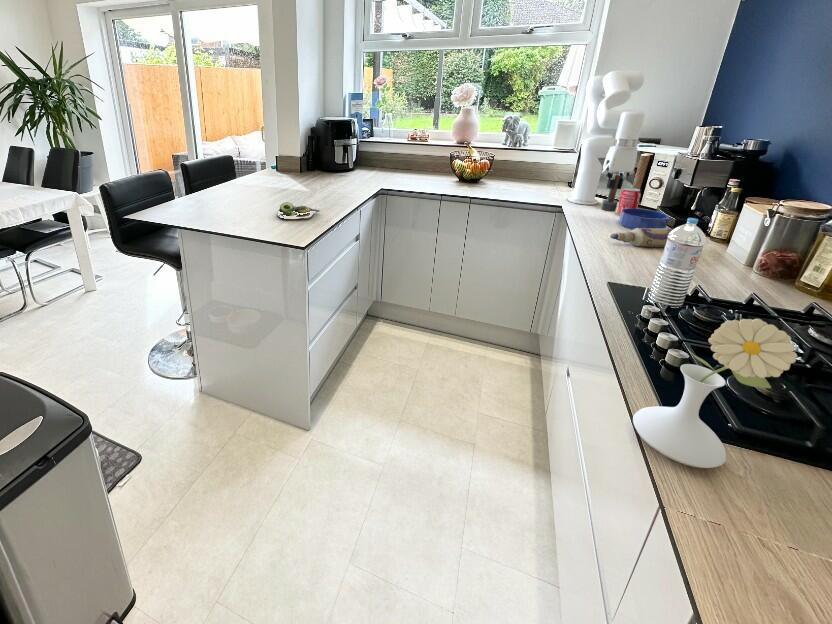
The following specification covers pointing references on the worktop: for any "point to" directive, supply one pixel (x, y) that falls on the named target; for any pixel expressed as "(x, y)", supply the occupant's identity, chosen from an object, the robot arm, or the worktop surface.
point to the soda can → (628, 199)
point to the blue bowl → (643, 218)
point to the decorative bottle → (644, 237)
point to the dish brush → (611, 197)
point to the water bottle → (677, 265)
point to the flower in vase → (750, 363)
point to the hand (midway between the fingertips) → (613, 188)
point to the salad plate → (288, 210)
